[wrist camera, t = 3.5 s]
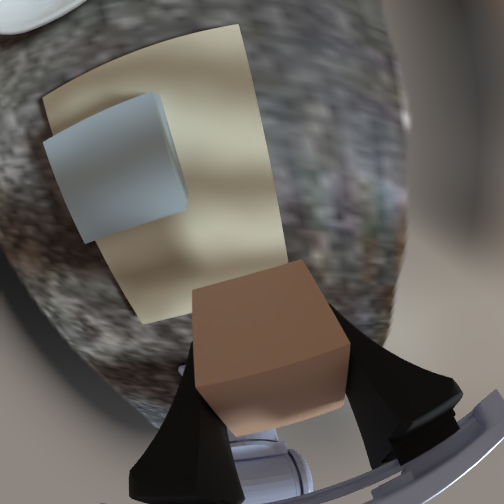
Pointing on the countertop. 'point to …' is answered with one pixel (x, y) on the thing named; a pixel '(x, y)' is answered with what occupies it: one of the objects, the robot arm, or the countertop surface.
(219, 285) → the terracotta block
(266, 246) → the baseboard
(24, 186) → the countertop surface
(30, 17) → the spoon rest
